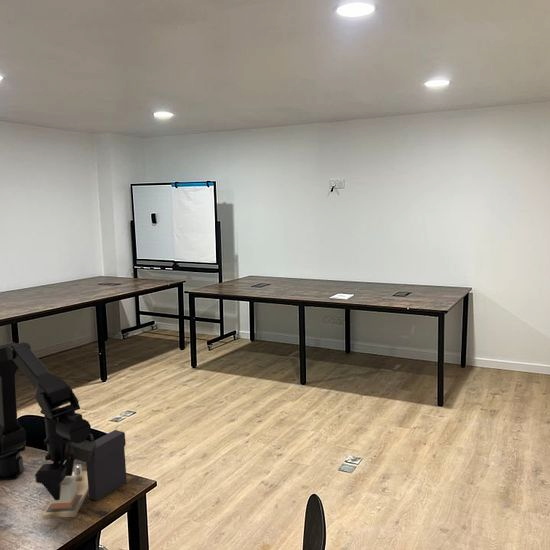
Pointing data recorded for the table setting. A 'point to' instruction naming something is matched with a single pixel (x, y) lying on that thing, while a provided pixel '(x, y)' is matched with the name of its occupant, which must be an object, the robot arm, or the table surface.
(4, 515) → the table surface
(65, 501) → the sleeve
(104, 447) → the upright charcoal slab
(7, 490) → the table surface
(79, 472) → the pins
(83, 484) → the pin board
